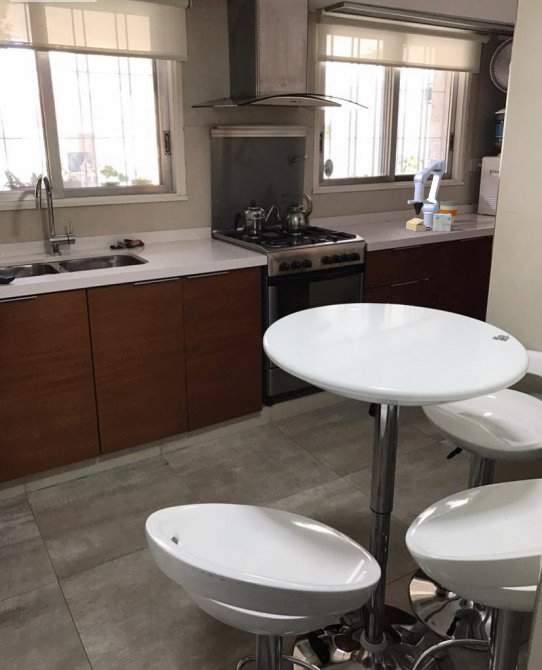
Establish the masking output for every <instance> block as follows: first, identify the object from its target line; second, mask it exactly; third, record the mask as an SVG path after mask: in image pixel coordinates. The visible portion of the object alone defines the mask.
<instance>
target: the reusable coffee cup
mask: <svg viewBox="0 0 542 670" xmlns="http://www.w3.org/2000/svg"><path fill="white" fill-rule="evenodd" d="M439 205H440V206H439V207H440V208H439V214H451V222H454V223H455V220H456V216H457V213H458V206H459V201H458V200H453V199H449V200H448V199H444V200H440V203H439Z"/></svg>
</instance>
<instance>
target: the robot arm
mask: <svg viewBox="0 0 542 670" xmlns="http://www.w3.org/2000/svg"><path fill="white" fill-rule="evenodd" d="M446 167H447V161H446V160H445V159H441V160H440V159H431V160H430V161H429V163H428V166H427V167H424V168H423V169H422V170H421V171H420V172H419V173H416V174H415V175H414V176H413V183H414V197H413V199H411V200H407V204H408V205H409V204H412V205H413V208H414V211H415V215H417V216H419V215H420V214H421V211H422V214H423V220H425V221H423V222H422V224H424V225H426V227H430V228H431V229H433V217H434V214H438V212H439V210H440V208H439V207H440V206H439V205H440V203H439V201H438V200H437V196H438V193H439V189H440V184H441V181H442V176H443V175H444V174H445V173H446ZM431 174H432V176H433V178H432V182H431V187H430V190H429V194H428V198H426V199H424V196H425V194H424V193H425V184H426V182H427V180H428V178H429V177H430V176H431Z"/></svg>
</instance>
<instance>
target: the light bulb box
mask: <svg viewBox="0 0 542 670" xmlns="http://www.w3.org/2000/svg"><path fill="white" fill-rule="evenodd" d="M451 224H452V223H451V214H440V213H436V214H434V217H433V228H432V231H433V232H451V227H452V226H451Z"/></svg>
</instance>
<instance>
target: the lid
mask: <svg viewBox="0 0 542 670" xmlns="http://www.w3.org/2000/svg"><path fill="white" fill-rule="evenodd" d="M424 221H425V220H424V219H422V218H417V217H413V218H412V219H410V220H407V221H406V223H409V224H413V225H418V224H422V223H423V222H424ZM406 223H405V224H406Z"/></svg>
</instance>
